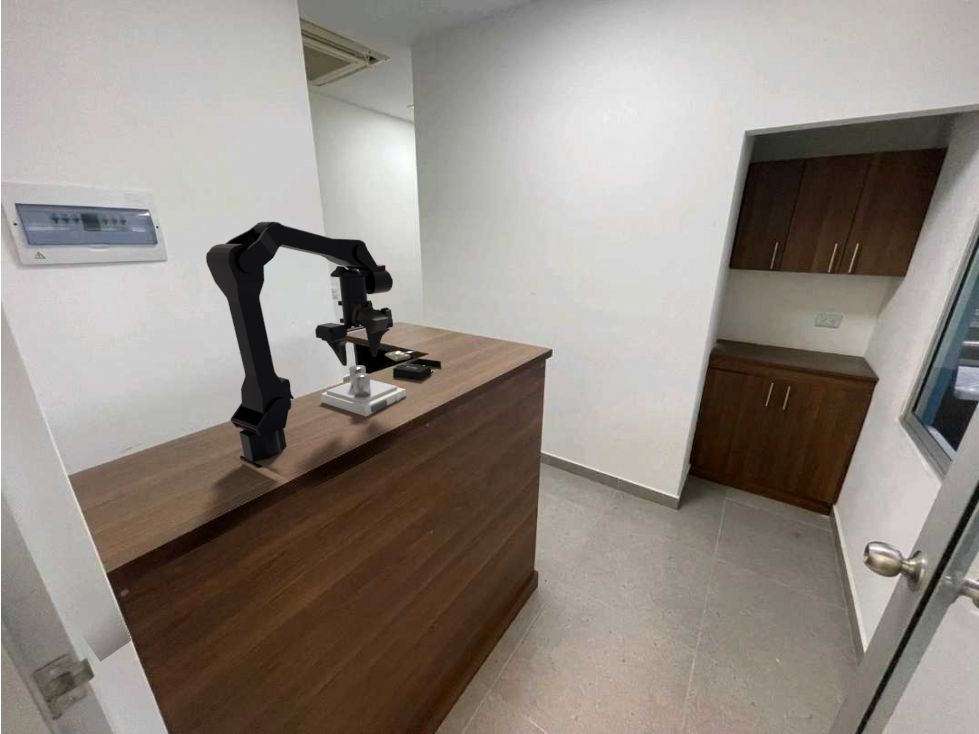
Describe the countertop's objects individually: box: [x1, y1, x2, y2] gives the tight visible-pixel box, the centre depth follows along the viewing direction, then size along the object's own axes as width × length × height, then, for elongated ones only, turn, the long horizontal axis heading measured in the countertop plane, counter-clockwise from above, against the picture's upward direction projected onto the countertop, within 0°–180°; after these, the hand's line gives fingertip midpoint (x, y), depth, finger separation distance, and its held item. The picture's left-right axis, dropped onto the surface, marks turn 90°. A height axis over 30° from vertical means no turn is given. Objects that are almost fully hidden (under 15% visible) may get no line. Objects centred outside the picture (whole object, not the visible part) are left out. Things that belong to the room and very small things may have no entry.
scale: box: [320, 379, 407, 417], centre depth 100 cm, size 14×16×3 cm
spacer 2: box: [352, 373, 371, 398], centre depth 95 cm, size 4×4×5 cm
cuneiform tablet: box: [384, 350, 417, 362], centre depth 133 cm, size 7×4×12 cm
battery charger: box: [392, 357, 442, 382], centre depth 120 cm, size 13×10×4 cm
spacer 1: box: [348, 365, 367, 388], centre depth 101 cm, size 4×4×5 cm
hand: (360, 360), depth 93 cm, fingers open, 9 cm apart
